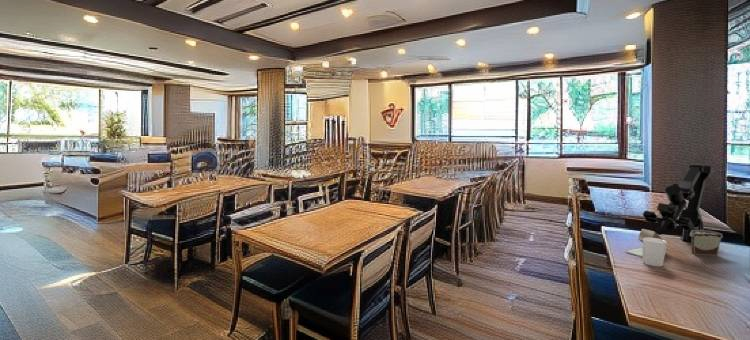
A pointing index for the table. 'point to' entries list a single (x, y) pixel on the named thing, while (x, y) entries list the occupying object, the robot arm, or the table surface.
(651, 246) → the white cup
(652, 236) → the walnut block
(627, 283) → the table surface
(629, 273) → the table surface
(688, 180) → the robot arm
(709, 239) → the food container
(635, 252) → the rubber mat
